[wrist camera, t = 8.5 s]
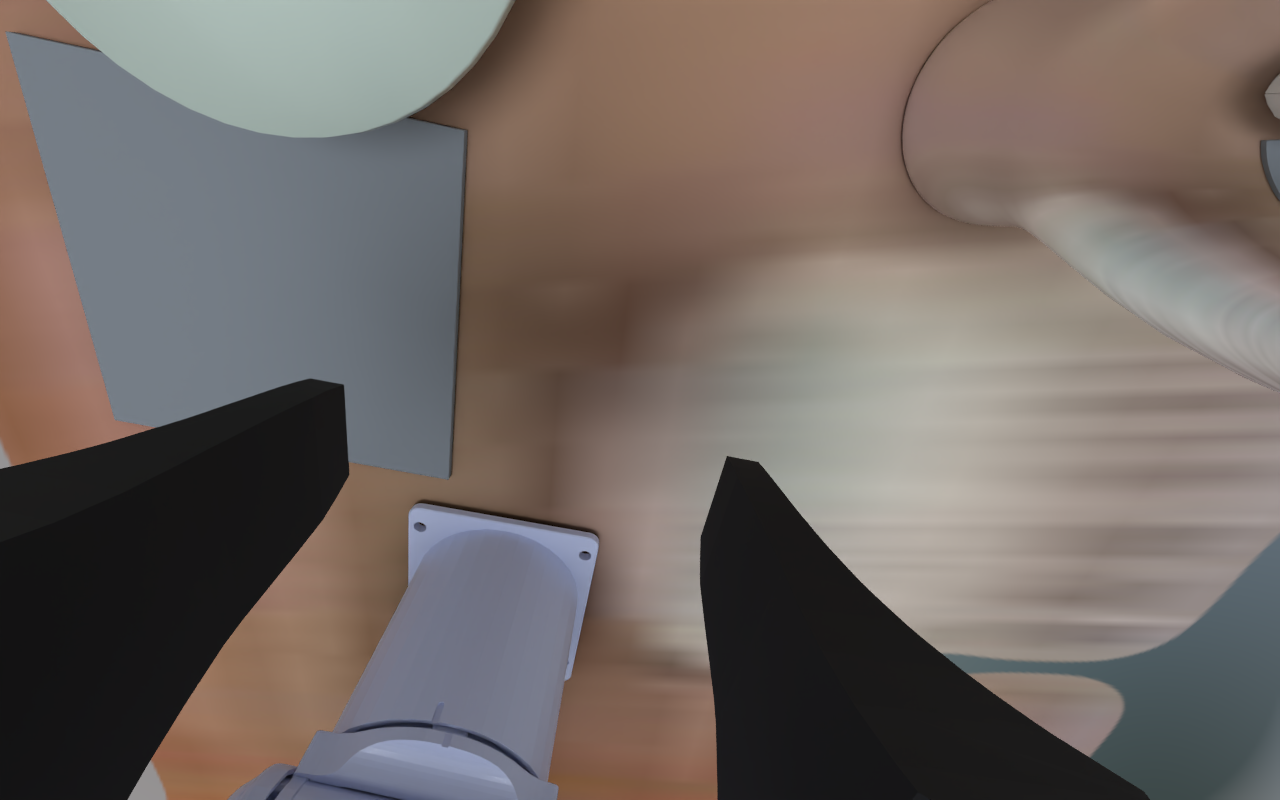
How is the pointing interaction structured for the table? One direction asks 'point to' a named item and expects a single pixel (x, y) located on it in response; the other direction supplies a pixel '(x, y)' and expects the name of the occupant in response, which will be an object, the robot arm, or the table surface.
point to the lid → (294, 56)
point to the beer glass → (1122, 154)
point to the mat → (255, 255)
